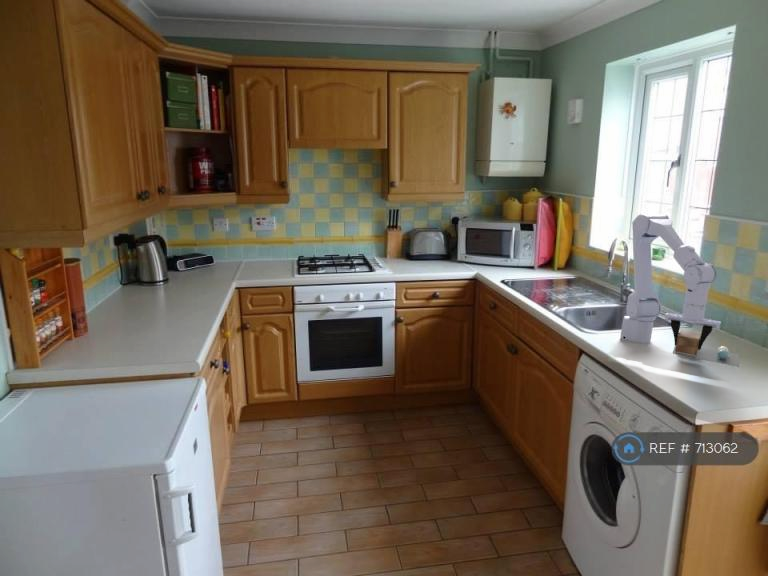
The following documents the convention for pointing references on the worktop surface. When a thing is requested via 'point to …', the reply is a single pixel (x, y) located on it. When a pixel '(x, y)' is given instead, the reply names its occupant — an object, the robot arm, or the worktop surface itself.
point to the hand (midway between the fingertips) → (687, 346)
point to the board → (713, 356)
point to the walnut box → (688, 342)
